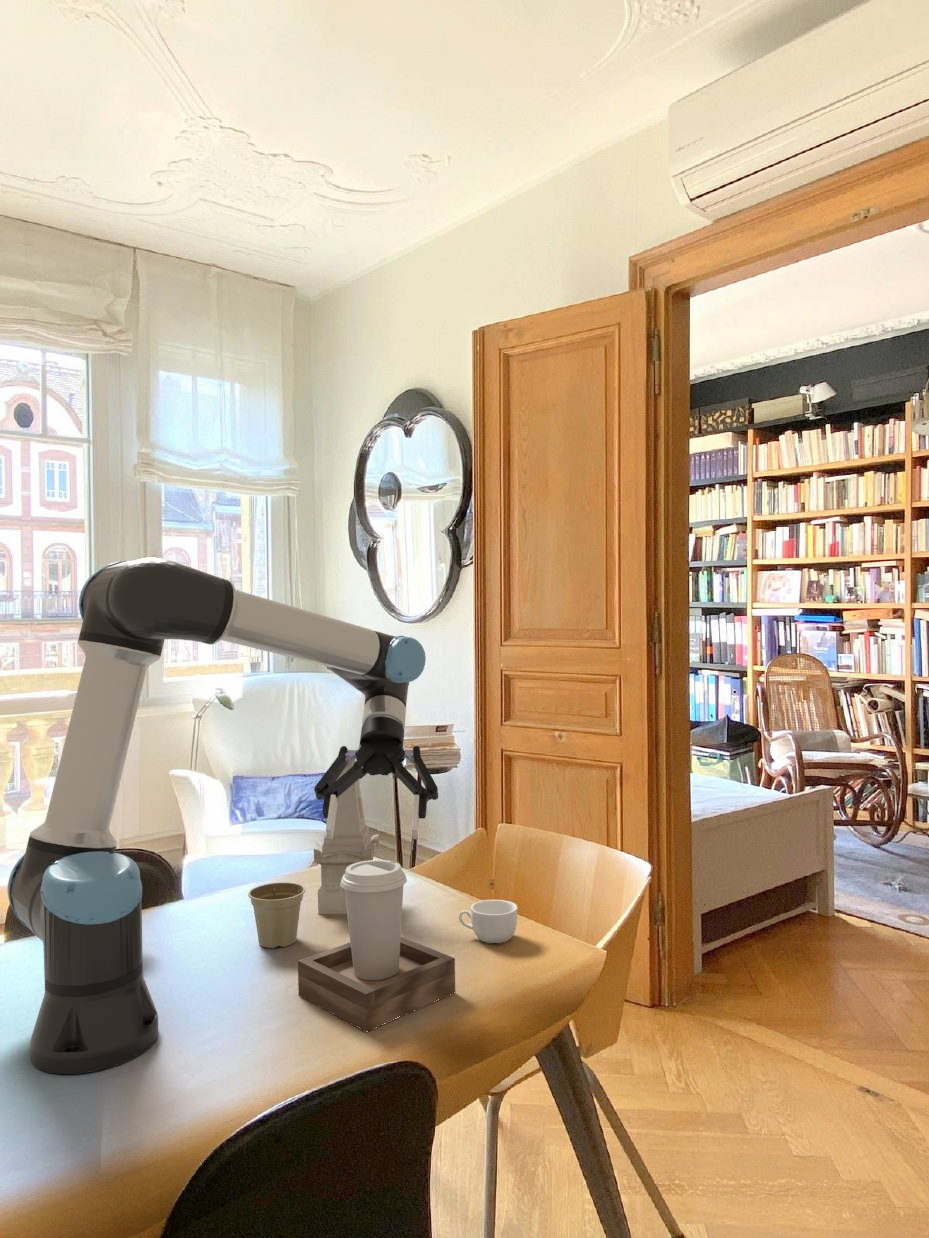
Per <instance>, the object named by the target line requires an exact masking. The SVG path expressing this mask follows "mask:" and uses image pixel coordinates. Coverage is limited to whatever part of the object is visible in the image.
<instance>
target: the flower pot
mask: <svg viewBox="0 0 929 1238" xmlns="http://www.w3.org/2000/svg"><path fill="white" fill-rule="evenodd" d="M305 893H306V887H305V886H304V885H303V884H300V883H296V882H284V881H282V882H281V881H279V882H278V881H277V882H269V883H264V884H260V885H258V886H255V887H253V888H251V889H250V890H249V891H248V894H247V895H248V897H249V899H250V903H251V905H252V907H253V913H254V919H255V925H256V932H257V939H258V940H257V941H258V944H259V946H260V947H263V948H268V949H275V948H277V947H282V948H284V947H288V946H291V945H293V944H294V943H296V941H297V938H298V937H297V936H298V927H299V920H300V911H301V904H302V901H303V899H304V894H305Z"/></svg>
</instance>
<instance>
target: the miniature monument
mask: <svg viewBox="0 0 929 1238" xmlns="http://www.w3.org/2000/svg"><path fill="white" fill-rule="evenodd" d="M347 750H349V749H348V748H347ZM356 761H357V759H356V758H354V759H352V760H351V762H350V763H349V764H347V765H346V767H345V769H344V770H343V772H342V773H341V774H340V776H339V777H338V778H337V780H338V779H339V778H340V777H341V776H342V775H343V774H344V773H346V772H347V771H348V770H349V769H350V768H351V767H353V765H354V763H355V762H356ZM359 780H360V779H358V780H357V781H356V782H355V783H354V784H353V785H351V786H350V787H349V788H348V789H347V790H346V791H345V792H343V793H342V794H341V795H340V796H339V797H338V798H337V803H338V805H337V812H336V819H335V827H334V834H333V839H328V837H327V833H326V834H324V836H323V837H324V838H323V844H319V846H318V848H314V849H313V863H314V864H318V865H320V878H321V879H320V880H321V885H320V887H319V888H318V890H317V911H318V912H317V914H318V915H347V908H346V900H345V892H344V888H342V887H341V885H340V884H341V879H342V877H343V875H344V874H345V871H346V868H347V867H348V866H349V865H351V864H354V863H357V862H362V861H368V860H374V857H375V856H376V853H377V852H378V850H379V848H380V834H379V833H376V834H373V835H372V834H371V833H370V828H369V827H368V826H366V820H365V813H364V806H363V800H362V795H361V787H360V781H359Z"/></svg>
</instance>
